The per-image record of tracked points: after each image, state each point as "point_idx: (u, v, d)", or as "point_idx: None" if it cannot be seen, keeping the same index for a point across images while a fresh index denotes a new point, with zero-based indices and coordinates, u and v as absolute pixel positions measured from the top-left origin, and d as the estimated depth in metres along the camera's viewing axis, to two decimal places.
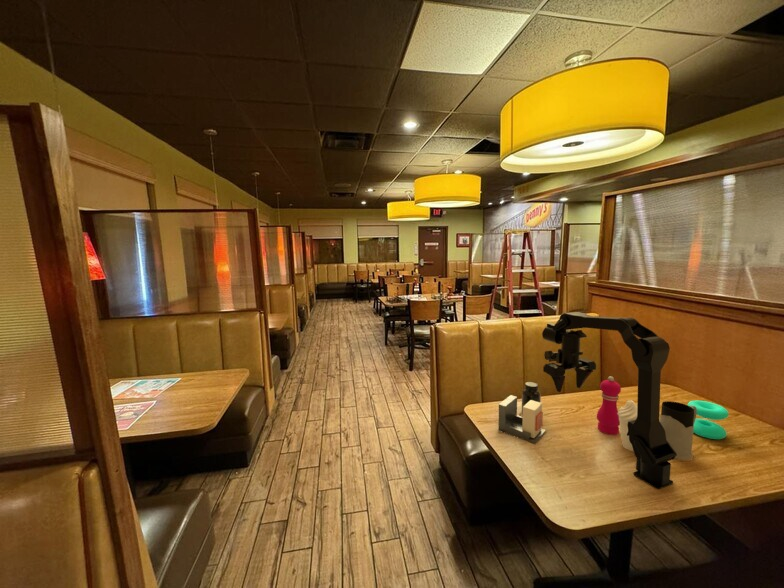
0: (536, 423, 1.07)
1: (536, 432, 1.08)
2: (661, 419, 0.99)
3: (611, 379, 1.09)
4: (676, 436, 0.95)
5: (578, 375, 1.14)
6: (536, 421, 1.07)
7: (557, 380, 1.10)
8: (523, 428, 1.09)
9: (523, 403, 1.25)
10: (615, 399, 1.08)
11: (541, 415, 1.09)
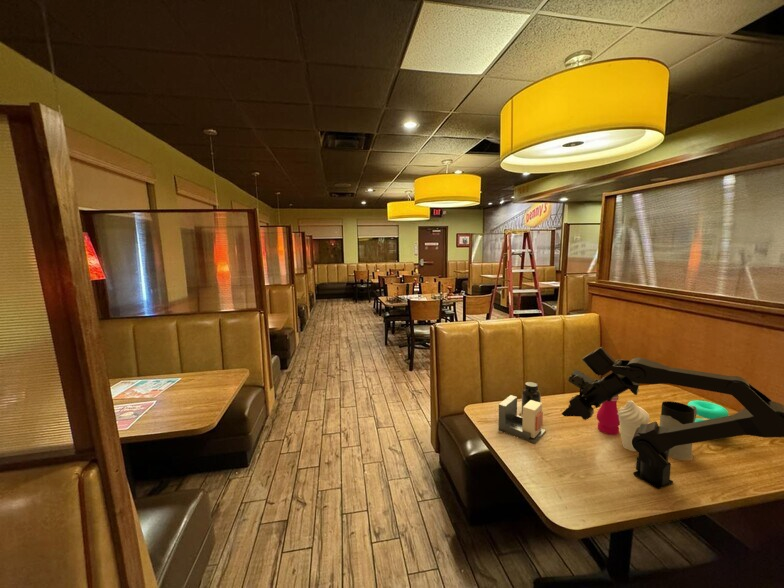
0: (536, 423, 1.07)
1: (536, 432, 1.08)
2: (661, 419, 0.99)
3: None
4: None
5: None
6: (536, 421, 1.07)
7: (574, 410, 0.96)
8: (523, 428, 1.09)
9: (523, 403, 1.25)
10: (615, 399, 1.08)
11: (541, 415, 1.09)
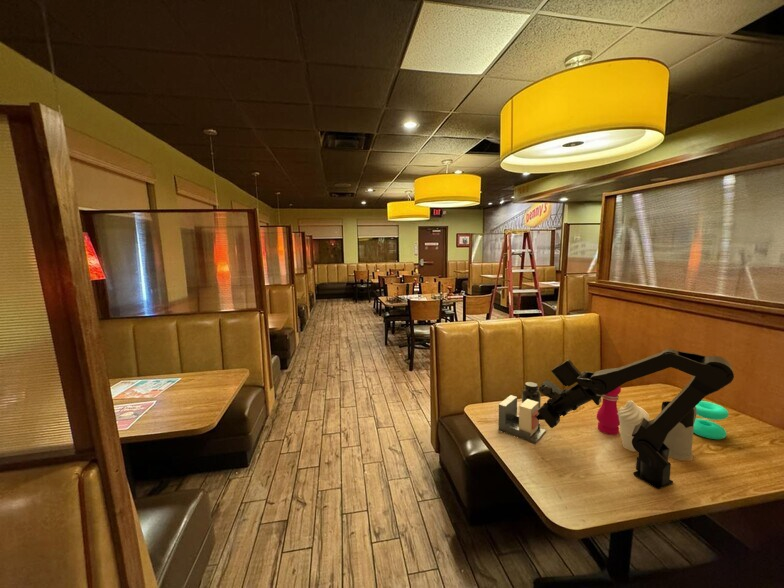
0: (532, 422, 1.07)
1: (532, 431, 1.09)
2: None
3: None
4: (676, 436, 0.95)
5: None
6: (532, 420, 1.07)
7: None
8: (520, 427, 1.10)
9: None
10: (615, 399, 1.08)
11: (537, 414, 1.10)
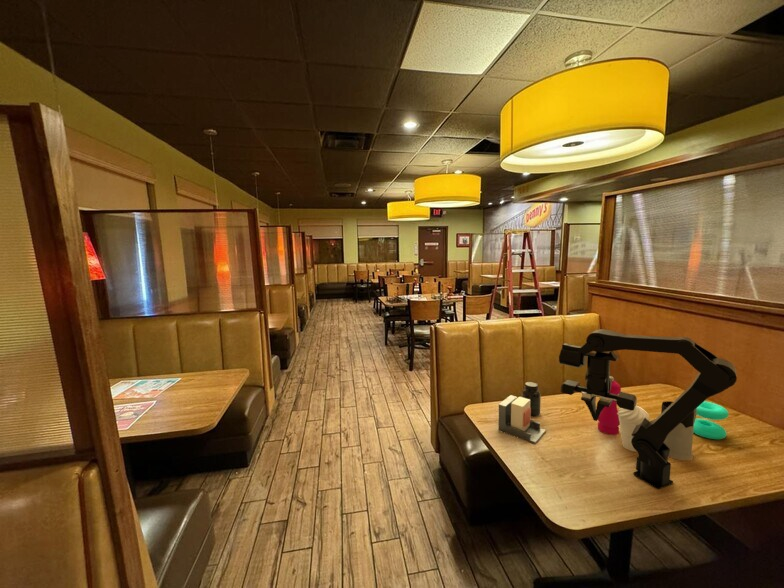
0: (524, 419, 1.09)
1: (524, 428, 1.11)
2: None
3: None
4: (676, 436, 0.95)
5: None
6: (524, 417, 1.09)
7: None
8: (511, 424, 1.12)
9: None
10: None
11: (529, 411, 1.12)
